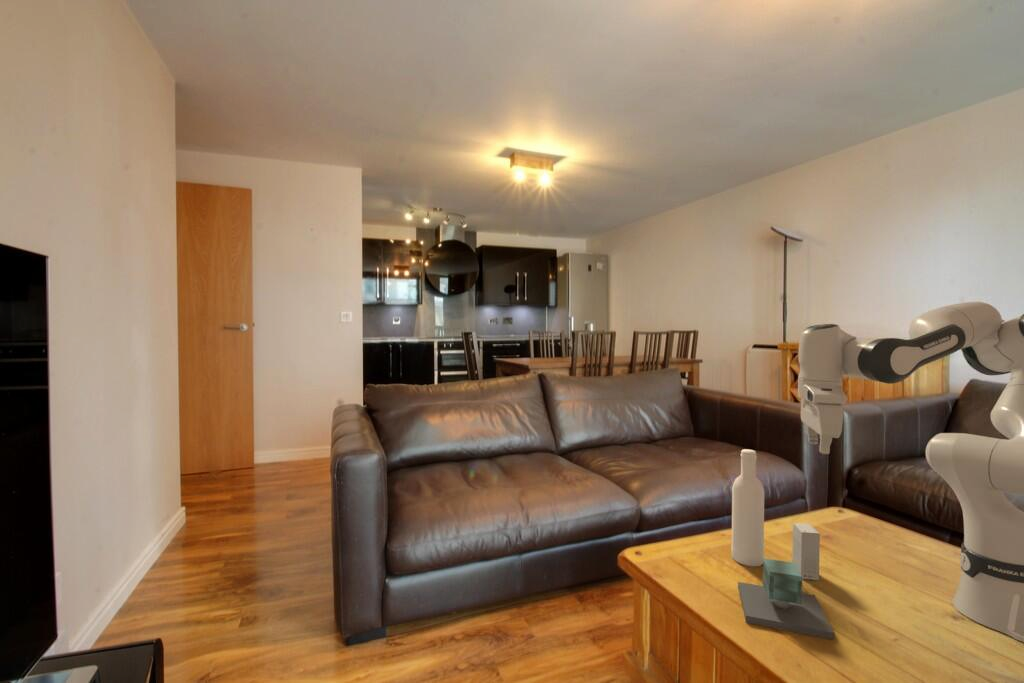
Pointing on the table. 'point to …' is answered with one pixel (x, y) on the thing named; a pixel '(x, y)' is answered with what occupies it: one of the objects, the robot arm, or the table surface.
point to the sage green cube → (782, 581)
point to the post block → (784, 612)
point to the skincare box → (806, 550)
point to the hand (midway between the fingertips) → (818, 448)
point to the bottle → (748, 513)
